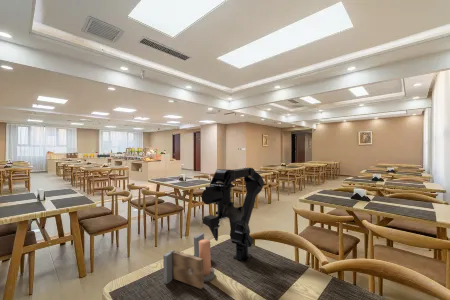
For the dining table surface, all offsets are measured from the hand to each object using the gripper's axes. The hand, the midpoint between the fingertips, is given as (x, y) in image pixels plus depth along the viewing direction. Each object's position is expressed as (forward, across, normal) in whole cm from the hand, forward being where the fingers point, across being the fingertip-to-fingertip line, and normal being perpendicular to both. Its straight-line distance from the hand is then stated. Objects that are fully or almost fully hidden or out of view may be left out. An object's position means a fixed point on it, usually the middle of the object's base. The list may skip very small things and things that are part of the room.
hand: (225, 237), depth 88 cm
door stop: (+13, -9, +2) cm, 16 cm away
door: (+13, -17, +3) cm, 22 cm away
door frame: (+13, -12, +12) cm, 21 cm away
